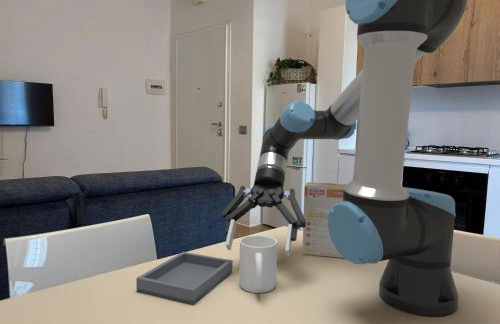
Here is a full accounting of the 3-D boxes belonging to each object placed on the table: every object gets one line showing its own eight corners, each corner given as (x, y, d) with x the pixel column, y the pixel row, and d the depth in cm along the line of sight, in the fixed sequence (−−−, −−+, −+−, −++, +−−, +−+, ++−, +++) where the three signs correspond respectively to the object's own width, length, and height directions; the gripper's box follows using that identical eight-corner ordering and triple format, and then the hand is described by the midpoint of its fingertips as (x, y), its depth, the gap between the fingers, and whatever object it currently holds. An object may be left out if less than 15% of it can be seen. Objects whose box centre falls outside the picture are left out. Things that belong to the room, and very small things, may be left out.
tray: (232, 272, 91) (232, 260, 91) (193, 305, 75) (193, 290, 74) (183, 263, 97) (183, 251, 96) (136, 291, 80) (136, 278, 80)
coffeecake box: (357, 251, 108) (360, 184, 105) (358, 260, 101) (361, 188, 99) (304, 246, 111) (306, 181, 109) (301, 254, 104) (304, 185, 102)
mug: (278, 302, 76) (279, 253, 75) (237, 302, 76) (238, 253, 75) (275, 278, 88) (276, 235, 87) (239, 277, 88) (240, 234, 87)
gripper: (319, 185, 97) (313, 262, 84) (227, 180, 103) (208, 252, 90) (319, 167, 91) (313, 247, 79) (221, 163, 97) (200, 237, 84)
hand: (257, 250), depth 84 cm, fingers open, 13 cm apart
